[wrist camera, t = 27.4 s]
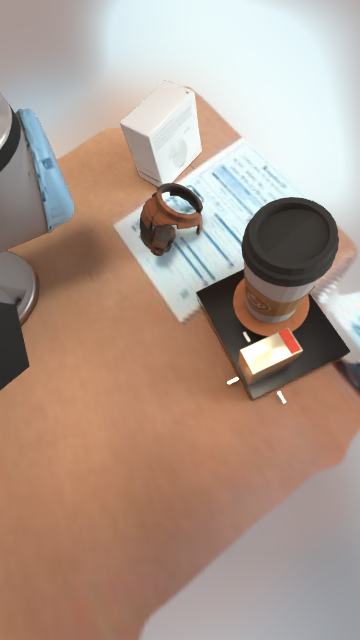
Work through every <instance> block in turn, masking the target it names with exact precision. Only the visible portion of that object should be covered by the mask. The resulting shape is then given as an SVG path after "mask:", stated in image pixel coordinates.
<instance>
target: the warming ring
mask: <svg viewBox="0 0 360 640" xmlns="http://www.w3.org/2000/svg"><path fill="white" fill-rule="evenodd" d="M233 306H234V311H235V314H236V316H237V318H238V319H239V321H240V322H241V323H242V324H243V325H244V326H245V327H246V328H247V329H248V330H250V331H252V332H254V333H256V334H258V335H262V336H267V337H268V336H270V335H272V334H274V333H277V332H279V331H281V330H283V329H285V328H287V327H288V328H289V329H290V331H291V332H292V331H294V330H296V329H297V328H298V327H299V326H300V325H301V324H302V323H303V321H304V320H305V318H306V316H307V314H308V310H309V297H308V296H307V297H306V298H305V300H304V301H303V302H302V304H301V305H300V306H299V307H298V308H297V309H296V310H295V312H294V313H293V314H292V315H291V316H290V317H289V318H288V319H286V320H284V321H282V322H279V323H267V322H263V321H261V320H258V319H257V318H256V317H254V316H253V315H252V314H251V312H250V311H249V310H248V307H247V305H246V296H245V284H244V279H243V280H242V281H241V282H240V283H239V284H238V286H237V288H236V290H235V293H234V297H233Z"/></svg>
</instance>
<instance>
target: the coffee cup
mask: <svg viewBox="0 0 360 640" xmlns="http://www.w3.org/2000/svg"><path fill="white" fill-rule="evenodd" d="M338 242H339V238H338V230H337V226H336V222H335V220H334V219H333V217H332V215H331V214H330V213H329V212H328V211H327V210H326V209H325V208H324V207H323V206H321V205H319V204H317V203H316V202H314V201H311V200H307V199H304V198H295V197H289V198H281V199H278V200H275V201H272V202H270V203H268V204H266V205H265V206H263V207H262V208H261V209H260V210H259V211H258V212H257V213H256V214H255V215H254V217H253V218H252V219H251V220H250V222H249V223H248V225H247V227H246V229H245V233H244V236H243V241H242V246H241V247H242V255H243V258H244V284H245V296H246V305H247V307H248V310H249V311H250V312H251V314H252V315H253V316H254V317H256V318H257V319H258V320H261V321H263V322H267V323H279V322H282V321H284V320H286V319H288V318H289V317H290V316H291V315H292V314H293V313H294V312H295V310H296V309H297V308H298V307H299V306H300V305H301V304H302V302H303V301H304V300H305V298H306V297H307V296H308V294H309V293H310V292H311V290H312V289H313V288H314V286H315V284H316V282H317V281H318V280H319V278H320V277H322V276H323V275H324V274H325V273H326V272H327V271H328V270H329V269H330V267H331V266H332V263H333V261H334V259H335V255H336V253H337V250H338Z"/></svg>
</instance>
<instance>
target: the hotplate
mask: <svg viewBox="0 0 360 640" xmlns="http://www.w3.org/2000/svg"><path fill="white" fill-rule="evenodd" d="M243 279H244V269H243V270H241V271H239V272H237V273H235V274H233V275H231V276H229V277H226V278H224V279H222V280H220V281H218V282H216V283H214V284H212V285H210V286H208V287H206V288H204V289H202V290H200V291H198V292H196V294H197V298H198V301H199V303H200V305H201V307H202V308H203V310H204V312H205V314H206V316H207V318H208V320H209V321H210V323H211V325H212V327H213V329H214V331H215V333H216V335H217V336H218V338H219V340H220V342H221V344H222V346H223V348H224V350H225V351H226V353H227V355H228V357H229V359H230V361H231V363H232V364H233V366H234V368H235V370H236V372H237V374H238V376H239V378H240V379H241V381H242V383H243V385H244V387H245V389H246V391H247V393H248V394H249V396H250V398H251V400H252V401H254V400H256V399H258V398H260V397H262V396H264V395H266V394H268V393H270V392H272V391H275V390H277V389H279V388H281V387H283V386H285V385H287V384H289V383H291V382H293V381H295V380H297V379H299V378H301V377H303V376H305V375H307V374H309V373H311V372H313V371H315V370H317V369H319V368H321V367H323V366H325V365H327V364H329V363H331V362H334V361H336V360H338V359H340V358H342V357H344V356H345V355H347V354H348V353H349V352H350V350H349V349H348V347H347V346H346V344H345V343H344V341H343V340H342V339H341V337H340V336H339V335H338V333H337V332H336V330H335V329H334V327H333V326H332V324H331V323H330V322H329V320H328V319H327V317H326V316H325V315H324V313H323V312H322V310H321V309H320V308H319V306H318V305H317V303H316V302H315V301H314V299H313V298H312V296H311V295H310V294H308V297H309V310H308V314H307V316H306V318H305V320H304V321H303V323H302V324H301V325H300V326H299V327H298V328H297V329H296V330H294V331H292V334H293V336H294V337H295V339H296V340H297V342H298V344H299V345H300V347H301V348H302V350H303V351H302V352H301V353H300V355H299V356H298V357H297V358H296V359H295V360H294V362H293V363H292V364H291V365H290V366H289V367H287V368H285V369H283V370H281V371H279V372H277V373H275V374H273V375H270V376H268V377H266V378H264V379H262V380H260V381H258V382H256V383H254V384H252V385H250V386H249V385H248V384H247V382H246V380H245V378H244V376H243V374H242V372H241V370H240V368H239V367H238V362H239V353H240V350H241V349H243V348H245V347H247V346H249V345H251V344H253V343H256V342H258V341H260V340H262V339H264V338H266V337H267V336H262V335H258V334H256V333H254V332H252V331H250V330H248V329H247V328H246V327H245V326H244V325H243V324H242V323H241V322H240V321H239V319H238V318H237V316H236V314H235V311H234V306H233V297H234V293H235V290H236V288H237V286H238V284H239V283H240V282H241V281H242V280H243ZM237 380H239V379H238V377H236V378H234V379H232V380H230V381H228V382H227V383H228V385H229V384H231V383H233V382H235V381H237ZM277 393H278V395H279V397H280V399H281V400H282V402H283V403H285V402H286V401H285V399H284V397H283V396H282V394H281V392H280V391H279V392H277Z"/></svg>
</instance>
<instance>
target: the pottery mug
mask: <svg viewBox="0 0 360 640" xmlns="http://www.w3.org/2000/svg"><path fill="white" fill-rule="evenodd" d="M164 192H170V196H179V197H181V198H183V199H184V200H187V201H188V202H189V204H190V205H191V206H192V207H193V208H194V209H195V210H196V213H193V214H182V213H178V212H176V211H174V210H173V209H171V208H170V207H169V206H168V205H166V203H165V202H164V201H163V199H162V196H161V194H162V193H164ZM202 209H203V206H202V203H201V201H200V199H199V198H198V197H197V196H196V195H195V194H194V193H193V192H192V191H191V190H189V189H187V188H186V187H184V186H182V185H179V184H174V183H166V184H163V185H161V186H160V187H159V188H158V189H157V192H156V193H154V194H153V195H152V198H149V199H148V200H147V201H146V203H145V205H144V206H143V211H142V213H141V217H140V230H141V232H140V235H141V239H142V241H143V243H144V244H145V245H146V246H147V247H148V248H149V249H151V252H152V253H153V254H154V255H157V256H161V255H163V253H164V252H168V251H170V249H171V244H172V243H173V241H174V239H175V237H176V235H175V229H174V227H172V226H171V225H177V229H184V228H190V227H195V226H198V228H197V232H196V234H197V235H199V233H200V230H201V226H202V217H201V210H202ZM152 225H153V226H155V228H154V231H152Z"/></svg>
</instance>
